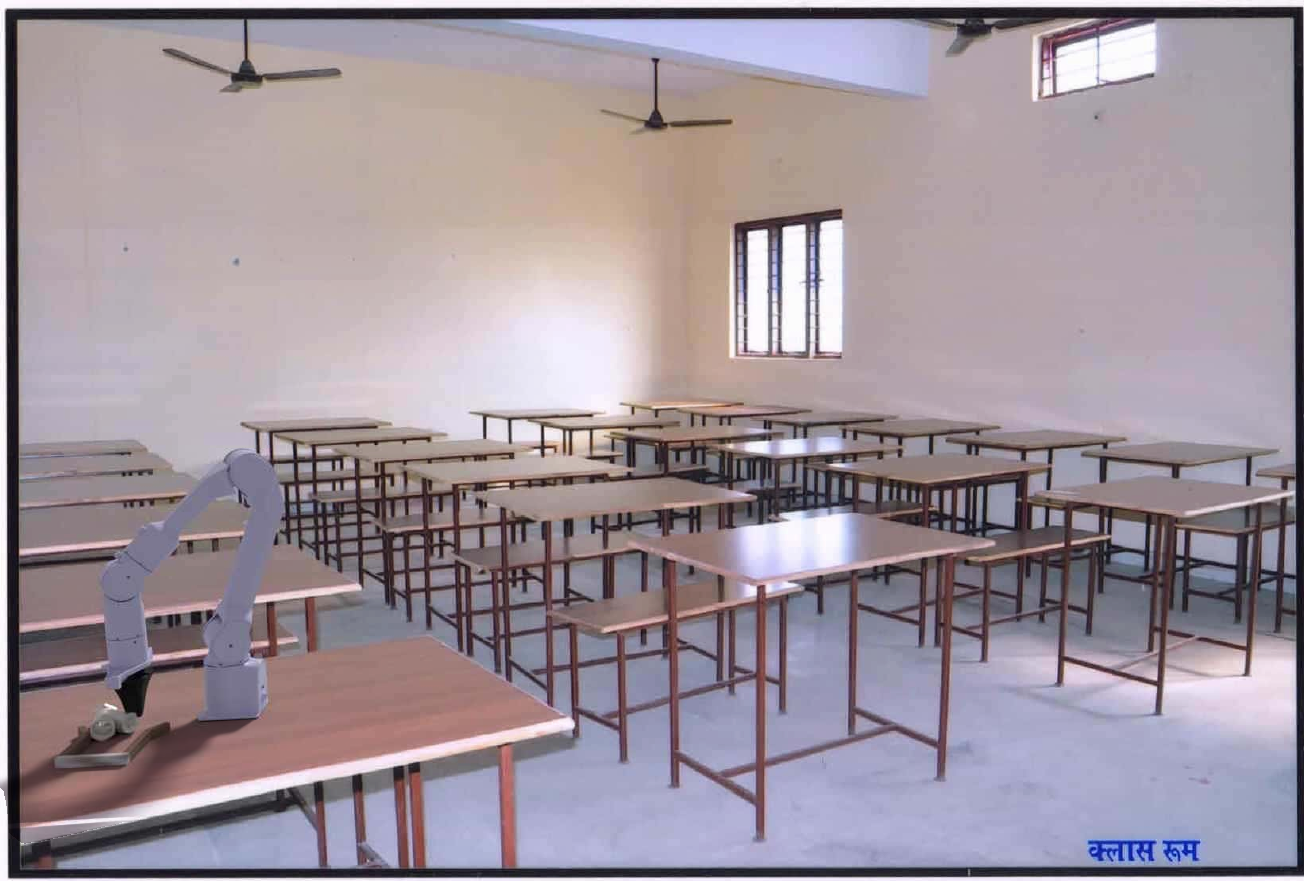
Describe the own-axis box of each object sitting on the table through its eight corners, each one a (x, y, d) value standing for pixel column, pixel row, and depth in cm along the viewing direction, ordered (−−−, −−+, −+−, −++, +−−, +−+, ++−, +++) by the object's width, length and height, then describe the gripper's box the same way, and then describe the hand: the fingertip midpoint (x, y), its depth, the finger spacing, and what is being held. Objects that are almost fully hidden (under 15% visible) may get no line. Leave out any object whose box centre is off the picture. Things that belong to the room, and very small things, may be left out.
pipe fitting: (138, 712, 161) (89, 719, 158) (139, 737, 161) (90, 743, 158) (139, 698, 168) (93, 704, 165) (140, 721, 168) (94, 728, 166)
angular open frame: (171, 730, 163) (171, 721, 163) (141, 764, 150) (140, 754, 150) (79, 735, 161) (79, 725, 161) (40, 769, 148) (40, 759, 148)
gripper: (117, 623, 168) (125, 702, 170) (80, 651, 154) (89, 737, 156) (162, 620, 169) (170, 699, 171) (129, 648, 155) (138, 733, 157)
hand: (134, 717), depth 163 cm, fingers closed, pressing on pipe fitting
